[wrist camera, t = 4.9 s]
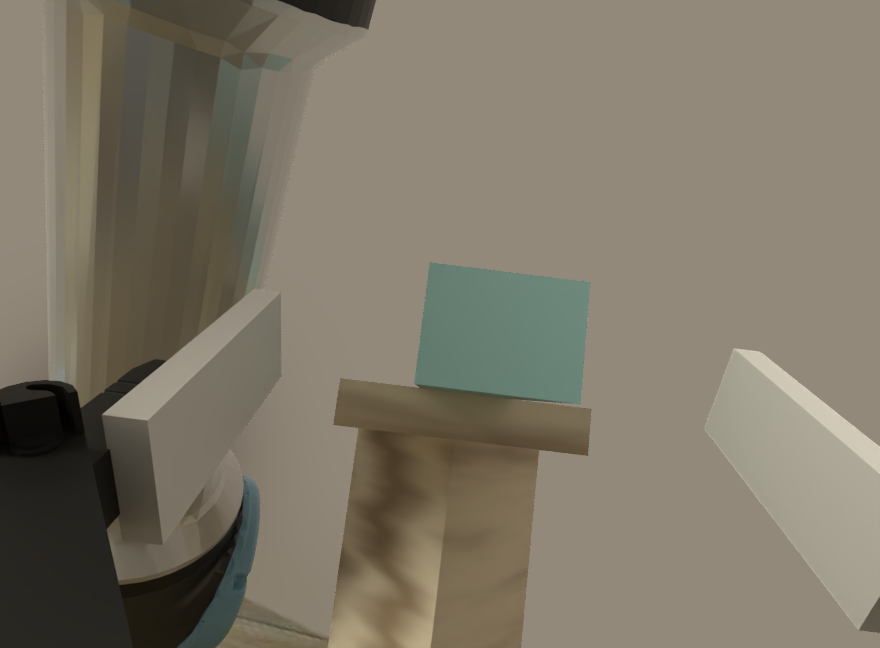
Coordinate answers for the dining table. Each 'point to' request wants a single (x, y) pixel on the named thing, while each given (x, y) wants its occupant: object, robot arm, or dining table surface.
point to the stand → (441, 514)
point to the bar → (503, 334)
